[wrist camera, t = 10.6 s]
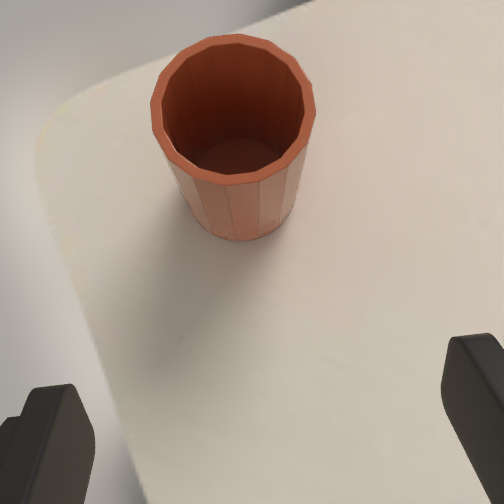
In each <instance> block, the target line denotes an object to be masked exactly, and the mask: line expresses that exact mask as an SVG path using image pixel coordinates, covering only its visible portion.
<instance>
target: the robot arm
mask: <svg viewBox="0 0 504 504" xmlns="http://www.w3.org/2000/svg"><path fill="white" fill-rule="evenodd" d="M441 397H442V402H443V406H444V409H445V412H446V414H447V416H448V418H449V420H450V422H451V424H452V426H453V428H454V430H455V432H456V434H457V436H458V438H459V440H460V442H461V444H462V446H463V448H464V450H465V452H466V454H467V456H468V458H469V460H470V462H471V464H472V466H473V468H474V470H475V472H476V474H477V476H478V478H479V480H480V482H481V484H482V486H483V488H484V490H485V492H486V494H487V496H488V498H489V500H490V502H491V504H504V349H503V348H502V346H501V345H500V344H499V342H498V341H497V339H496V338H495V337H494V336H493V335H492V334H490V333H482V334H474V335H465V336H457V337H452V338H451V339H450V341H449V344H448V349H447V355H446V360H445V365H444V371H443V376H442V382H441ZM94 455H95V435H94V430H93V427H92V425H91V423H90V420H89V418H88V415H87V413H86V411H85V409H84V407H83V404H82V402H81V399H80V397H79V395H78V392H77V390H76V388H75V387H74V385H72V384H64V385H56V386H47V387H39V388H34V389H33V390H32V391H31V392H30V394H29V395H28V398H27V400H26V403H25V405H24V408H23V410H22V413H21V415H20V416H17V417H9V418H7V419H6V420H5V421H4V423H3V424H2V425H1V426H0V504H84V501H85V496H86V492H87V488H88V483H89V479H90V474H91V470H92V466H93V461H94Z"/></svg>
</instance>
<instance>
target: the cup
mask: <svg viewBox="0 0 504 504" xmlns="http://www.w3.org/2000/svg"><path fill="white" fill-rule="evenodd" d="M150 108H151V120H152V131H153V134H154V136H155V138H156V140H157V142H158V144H159V146H160V148H161V150H162V153H163V155H164V157H165V159H166V161H167V163H168V165H169V167H170V169H171V171H172V173H173V176H174V178H175V180H176V182H177V184H178V186H179V188H180V190H181V192H182V194H183V196H184V198H185V201H186V202H187V204H188V206H189V208H190V210H191V212H192V214H193V215H194V217H195V219H196V220H197V221H198V222H199V223H200V224H201V225H202V226H203V227H204V228H205V229H206V230H208V231H209V232H211V233H212V234H214V235H216V236H218V237H221V238H224V239H228V240H234V241H248V240H253V239H257V238H260V237H263V236H265V235H267V234H269V233H270V232H272V231H274V230H275V229H276V228H277V227H278V226H280V225H281V224H282V222H283V221H284V220H285V219H286V218H287V216H288V215H289V213H290V211H291V209H292V207H293V204H294V201H295V197H296V193H297V189H298V185H299V181H300V177H301V173H302V169H303V165H304V161H305V157H306V153H307V148H308V144H309V140H310V136H311V132H312V128H313V124H314V120H315V116H316V108H315V102H314V96H313V90H312V84H311V82H310V80H309V79H308V77H307V76H306V74H305V73H304V71H303V70H302V68H301V67H300V65H299V64H298V62H297V60H296V59H295V58H294V57H293V56H291V55H290V54H288V53H287V52H285V51H284V50H282V49H281V48H280V47H278V46H277V45H275V44H274V43H272V42H271V41H269V40H264V39H260V38H256V37H252V36H248V35H244V34H231V35H222V36H213V37H209V38H206V39H204V40H202V41H200V42H198V43H196V44H194V45H192V46H190V47H188V48H186V49H184V50H182V51H180V52H179V53H178V54H177V55H176V57H175V58H174V59H173V60H172V61H171V62H170V63H169V64H168V65H167V66H166V68H165V69H164V70H163V71H162V72H161V74H160V75H159V78H158V81H157V84H156V87H155V89H154V92H153V95H152V98H151V102H150Z"/></svg>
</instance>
